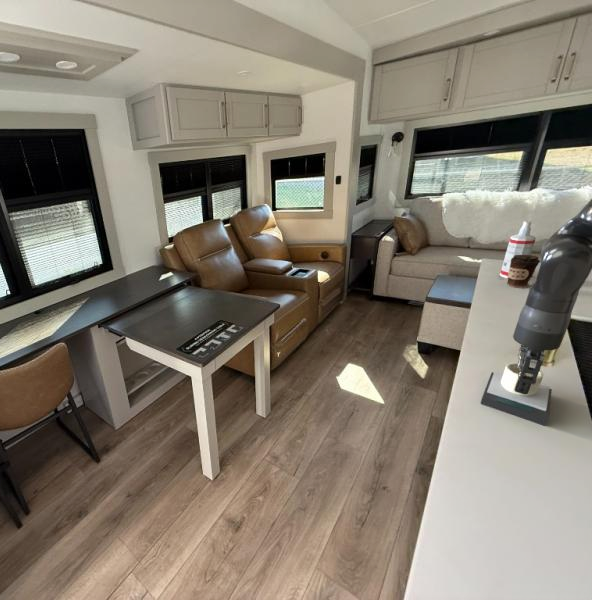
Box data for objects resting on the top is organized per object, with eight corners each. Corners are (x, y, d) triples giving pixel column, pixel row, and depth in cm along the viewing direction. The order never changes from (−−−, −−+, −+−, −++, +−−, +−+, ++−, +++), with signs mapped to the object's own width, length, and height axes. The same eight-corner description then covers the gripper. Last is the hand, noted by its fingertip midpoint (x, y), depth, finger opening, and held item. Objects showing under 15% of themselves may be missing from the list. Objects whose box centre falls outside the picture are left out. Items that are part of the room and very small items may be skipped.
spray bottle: (498, 277, 146) (514, 222, 136) (500, 272, 150) (516, 219, 140) (522, 279, 140) (540, 223, 130) (524, 275, 145) (541, 220, 135)
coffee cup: (524, 290, 131) (533, 260, 126) (499, 285, 138) (507, 256, 133) (535, 285, 134) (545, 256, 129) (510, 280, 141) (518, 252, 136)
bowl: (511, 378, 81) (517, 360, 79) (542, 392, 76) (550, 373, 74) (493, 384, 80) (499, 366, 78) (524, 400, 74) (531, 381, 72)
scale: (489, 378, 86) (492, 369, 85) (549, 396, 78) (552, 386, 77) (480, 403, 78) (483, 394, 77) (544, 426, 71) (549, 416, 69)
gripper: (569, 343, 64) (544, 405, 70) (563, 316, 73) (541, 373, 79) (517, 333, 69) (498, 393, 75) (518, 309, 78) (500, 364, 84)
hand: (520, 383), depth 77 cm, fingers open, 8 cm apart
